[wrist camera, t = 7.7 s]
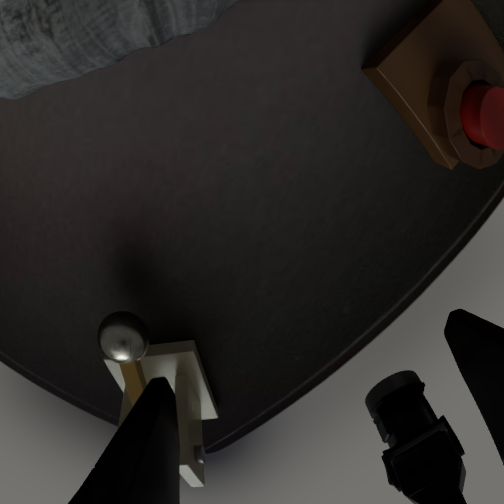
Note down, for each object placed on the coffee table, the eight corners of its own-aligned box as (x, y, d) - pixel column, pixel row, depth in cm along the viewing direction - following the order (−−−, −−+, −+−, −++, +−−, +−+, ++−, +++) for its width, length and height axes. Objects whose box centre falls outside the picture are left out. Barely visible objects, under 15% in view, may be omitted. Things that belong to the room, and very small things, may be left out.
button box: (441, -12, 12) (475, -20, 9) (506, 90, 15) (539, 96, 12) (360, 69, 15) (392, 66, 12) (442, 174, 18) (475, 191, 15)
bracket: (106, 348, 21) (81, 447, 14) (194, 339, 22) (194, 448, 14) (145, 413, 26) (139, 495, 18) (217, 407, 26) (225, 494, 18)
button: (478, 72, 12) (499, 74, 10) (502, 118, 13) (522, 124, 12) (450, 108, 13) (471, 112, 12) (476, 154, 14) (496, 162, 13)
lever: (103, 309, 19) (83, 320, 15) (148, 303, 19) (134, 315, 16) (150, 457, 19) (141, 483, 16) (190, 456, 19) (186, 483, 16)
